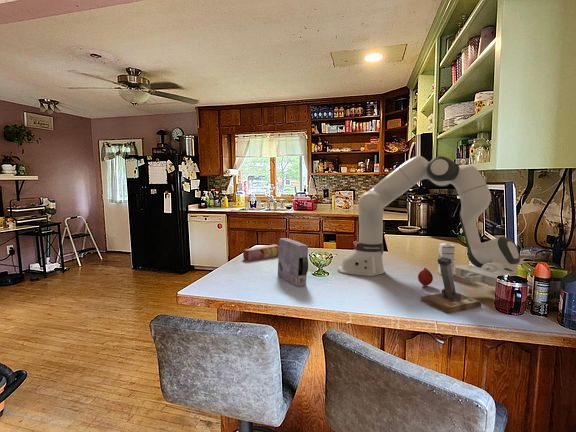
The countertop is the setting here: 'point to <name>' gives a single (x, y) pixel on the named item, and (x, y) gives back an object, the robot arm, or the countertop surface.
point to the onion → (425, 277)
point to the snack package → (261, 252)
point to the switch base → (450, 302)
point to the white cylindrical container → (446, 254)
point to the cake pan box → (293, 261)
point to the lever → (447, 276)
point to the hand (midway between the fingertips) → (467, 278)
